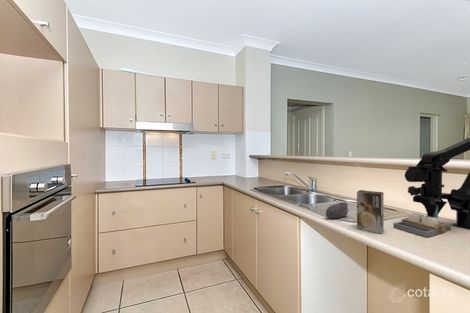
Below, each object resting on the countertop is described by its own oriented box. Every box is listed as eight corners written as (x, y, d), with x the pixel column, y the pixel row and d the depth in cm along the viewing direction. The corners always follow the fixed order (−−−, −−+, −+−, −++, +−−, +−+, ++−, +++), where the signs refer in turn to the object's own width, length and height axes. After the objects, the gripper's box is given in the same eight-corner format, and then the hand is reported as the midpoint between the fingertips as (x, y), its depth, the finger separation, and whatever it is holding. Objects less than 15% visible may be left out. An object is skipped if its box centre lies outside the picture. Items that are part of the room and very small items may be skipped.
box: (401, 225, 96) (401, 221, 96) (435, 235, 85) (435, 230, 85) (393, 227, 94) (393, 223, 94) (426, 237, 83) (426, 232, 83)
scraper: (419, 222, 101) (419, 201, 101) (450, 230, 91) (450, 206, 91) (415, 223, 100) (416, 201, 100) (446, 231, 90) (447, 207, 90)
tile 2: (426, 221, 93) (426, 215, 93) (438, 224, 89) (438, 218, 89) (421, 222, 91) (421, 217, 91) (433, 225, 87) (433, 219, 87)
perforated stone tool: (330, 221, 104) (330, 206, 104) (321, 218, 109) (321, 204, 108) (351, 216, 110) (351, 203, 110) (342, 214, 115) (342, 201, 115)
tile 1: (413, 218, 97) (413, 212, 97) (424, 220, 94) (424, 215, 94) (408, 219, 96) (408, 213, 96) (418, 222, 92) (418, 216, 92)
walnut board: (412, 223, 100) (412, 216, 100) (446, 232, 89) (446, 224, 89) (402, 225, 97) (402, 219, 96) (435, 235, 86) (435, 227, 86)
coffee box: (384, 229, 92) (384, 192, 91) (381, 234, 87) (381, 194, 87) (359, 225, 98) (360, 189, 98) (356, 228, 93) (356, 191, 93)
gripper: (423, 178, 106) (422, 210, 107) (399, 181, 99) (399, 215, 99) (453, 181, 96) (452, 216, 96) (429, 184, 88) (429, 222, 89)
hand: (432, 217), depth 95 cm, fingers open, 3 cm apart
